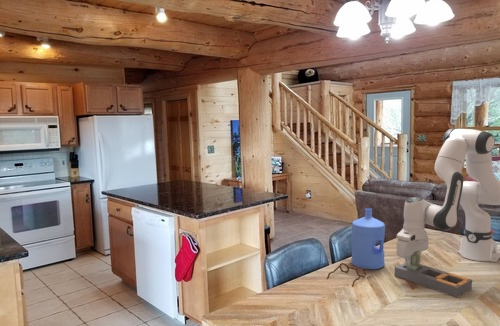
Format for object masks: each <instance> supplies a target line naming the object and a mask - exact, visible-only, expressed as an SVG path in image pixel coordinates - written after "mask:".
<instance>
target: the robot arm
mask: <svg viewBox="0 0 500 326" xmlns="http://www.w3.org/2000/svg"><path fill="white" fill-rule="evenodd" d="M442 143H443V144H442V146H441V148H440V150H439V152H438V154H437V157H436V159H435V162H434V167H433V168H434V171H435V173H436V175H437V176H438V177H439V178H440V179H441V180H442V181H443V182H444V183H445V184H446V194H445V198H444V202H443V204H442V205H437V204H436V203H435V204H434V203H432V202H429V201H426V199H424V198H423V197H422V196H411V197H408V198H406V199H405V201H404V207H403V219H404V220H403V221H404V222H403V224H402V225H403V226H402V229H400V231H399V232H398V233H397V234H396V239H397V241H396V255H397V257H399V258H403V259H406V263H407V264H408V265H410V264H412V260H411V259H410V258H411V255H414V252H416V251H419V250H421V251H420V256H421V255H422V252H424V251H427V250H428V249H429V236H428V235H427V231H426V229H425V225H429V226H431V227H435V228H437V229H438V230H441V231H442V232H448V231H451V230H453V228H455V227H456V225H457V224H458V220H459V208H460V207H459V206H460V205H461V207H462V209H463V211H464V215H465V216H464V217H465V228H464V231H463V236H462V237H461V239H460V240H461V241H460V248H459V249H458V250H457V253H458V254H460V256H461V257H463V258H465V259H469V260H471V261H478V262H492V263H497V262H498V261H499V260H500V251H499V250H498V243H497V242H496V241H495V240H494V238H493V234H494V232H495V231H494V230H492V228H491V226H492V225H491V224H492V217H491V215H490V214H489V212H487V211H485V210H483V209H482V208H480V206H479V205H481V204H482V205H491V206H500V180H499V179H498V178H497V177H496V175H495V174H494V171H493V162H492V161H493V158H492V154H493V153H492V151H493V149H494V147H495V143H496V140H495V137H494V135H493V134H492V133H491V132H489V131H485V130H479V129H472V128H454V127H452V128H449V129H447V130H446V131H445V133H444V134H443V136H442ZM464 163H465V171H466V172H465V173H466V174H467V175H468V176H469V177H470V178H471V179H474V180H476V181H474V180H473V181H470V180H465V179H464V176H463V174H462V171H463V167H464Z"/></svg>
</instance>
